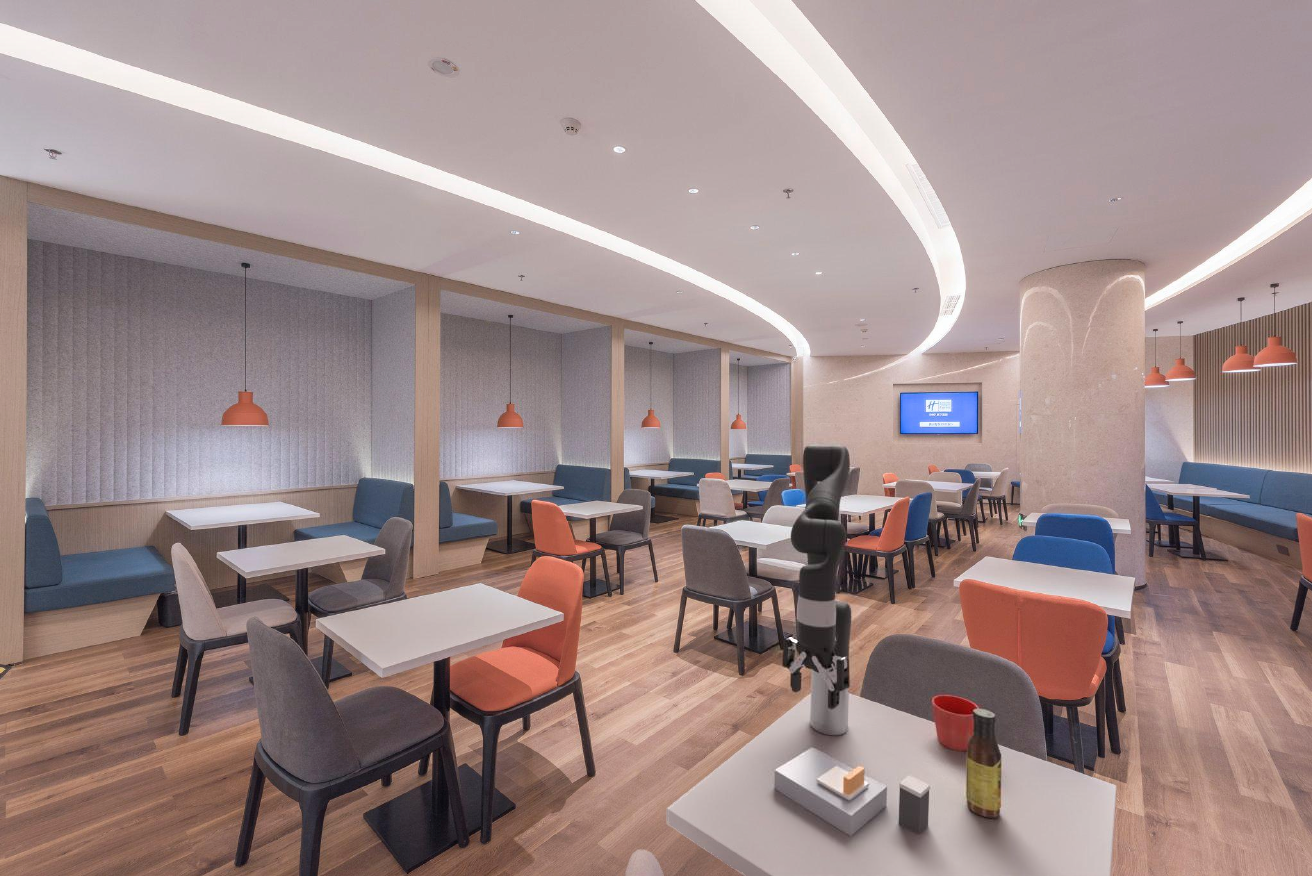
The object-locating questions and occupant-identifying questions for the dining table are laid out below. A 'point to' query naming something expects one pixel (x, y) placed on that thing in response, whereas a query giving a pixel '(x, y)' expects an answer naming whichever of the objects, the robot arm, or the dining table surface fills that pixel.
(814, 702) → the robot arm
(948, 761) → the dining table surface
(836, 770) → the shutter
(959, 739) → the flower pot
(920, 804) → the plug
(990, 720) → the sauce bottle
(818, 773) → the socket block
